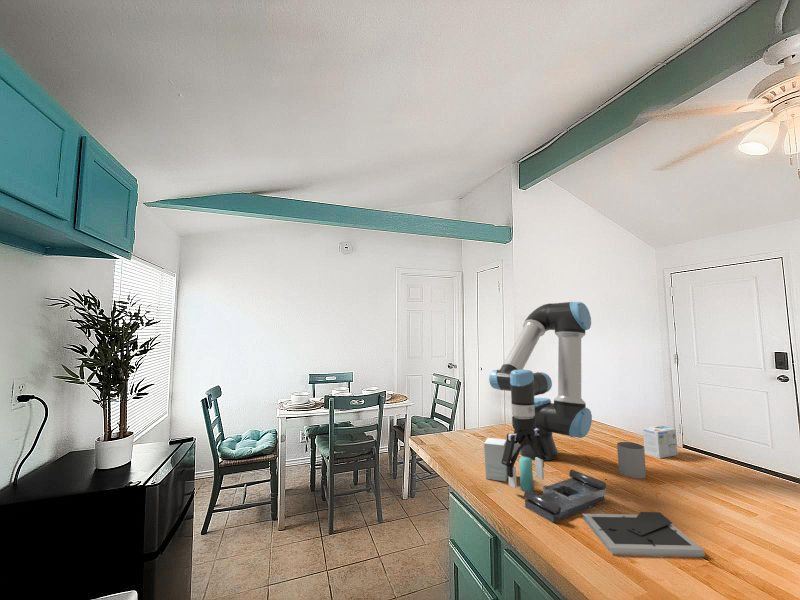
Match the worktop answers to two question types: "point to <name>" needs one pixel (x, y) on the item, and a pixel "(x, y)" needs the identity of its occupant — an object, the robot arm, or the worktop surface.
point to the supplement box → (495, 459)
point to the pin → (526, 474)
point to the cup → (631, 459)
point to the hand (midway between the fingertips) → (526, 482)
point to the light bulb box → (660, 441)
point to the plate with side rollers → (567, 497)
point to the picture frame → (641, 535)
